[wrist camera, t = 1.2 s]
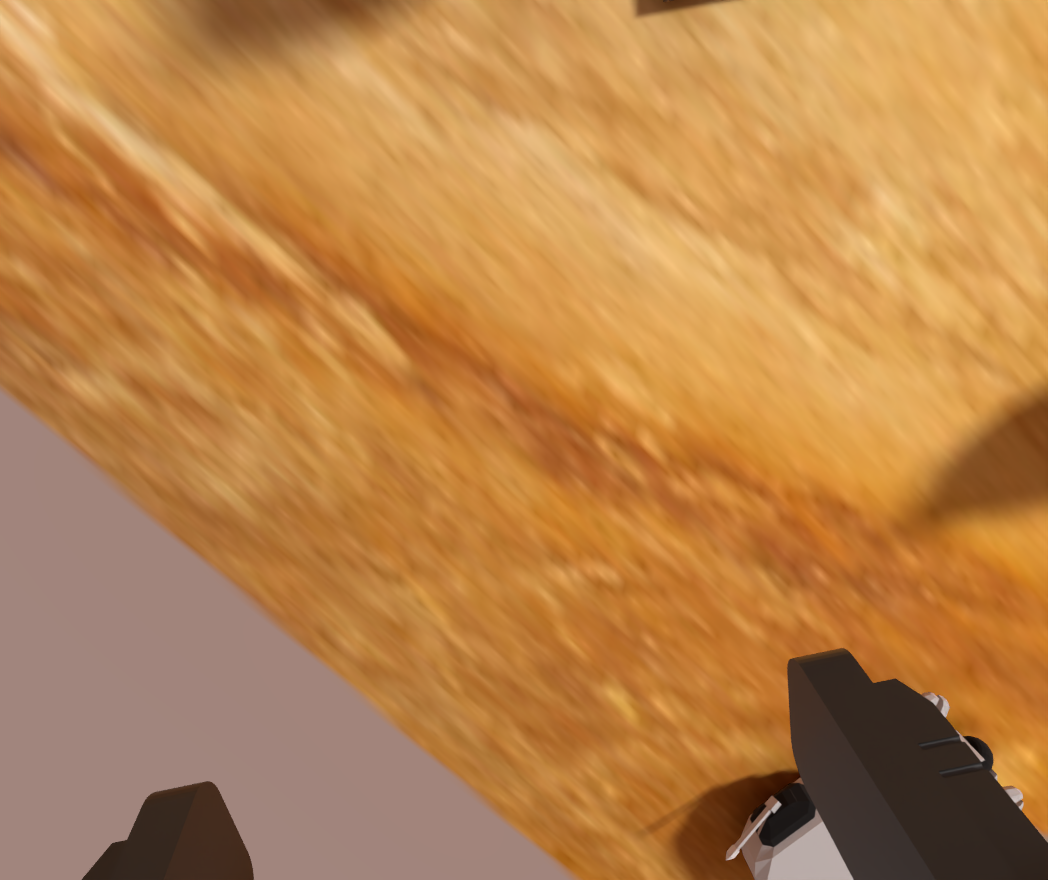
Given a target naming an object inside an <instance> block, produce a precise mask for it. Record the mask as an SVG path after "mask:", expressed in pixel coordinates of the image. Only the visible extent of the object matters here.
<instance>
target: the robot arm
mask: <svg viewBox="0 0 1048 880" xmlns="http://www.w3.org/2000/svg"><path fill="white" fill-rule="evenodd" d="M787 669H788V690H789V708H790V727H791V742H792V749H793V753H794V757H795V761H796V765H797V768H798V771H799V774H800V776H801V779H802V781H803V784H804V786H805V788H806V790H807V792H808V794H809V796H810V798H811V800H812V802H813V803H814V805H815V807H816V809H817V811H818V813H819V815H820V817H821V819H822V821H823V823H824V824H825V826H826V828H827V830H828V832H829V834H830V836H831V838H832V840H833V842H834V843H835V845H836V847H837V849H838V851H839V853H840V855H841V857H842V859H843V861H844V862H845V864H846V866H847V868H848V870H849V872H850V874H851V876H852V878H853V880H1048V843H1047V841H1046V840H1045V839H1044V838H1043V837H1042V835H1041V834H1040V833H1039V832H1038V830H1037V829H1036V828H1035V827H1034V826H1033V824H1032V823H1031V822H1030V821H1029V819H1028V818H1027V817H1026V816H1025V815H1024V813H1023V812H1022V811H1021V810H1020V808H1019V807H1018V806H1017V805H1016V804H1015V802H1014V801H1013V800H1012V799H1011V797H1010V796H1009V795H1008V794H1007V793H1006V791H1005V790H1004V789H1003V788H1002V786H1001V785H1000V784H999V783H998V782H997V780H996V779H995V778H994V777H993V775H992V774H991V773H990V772H989V771H988V769H984V768H983V766H982V762H981V761H980V760H979V758H978V757H977V756H976V755H975V753H974V752H973V751H972V750H971V749H970V747H969V746H968V745H967V744H966V742H962V741H961V739H960V736H959V734H958V733H957V731H956V730H955V729H954V728H953V727H952V725H951V724H950V723H949V722H948V720H947V719H946V718H945V717H944V716H943V714H942V713H941V712H940V711H939V709H938V708H937V707H936V706H935V705H934V703H933V702H931V701H929V700H928V699H926V698H925V697H923V696H922V695H920V694H919V693H917V692H916V691H914V690H912V689H911V688H909V687H908V686H906V685H905V684H903V683H902V682H900V681H898V680H897V679H892V680H887V681H882V682H877V683H873V682H872V681H871V680H870V678H869V677H868V676H867V674H866V673H865V672H864V670H863V669H862V668H861V666H860V665H859V664H858V662H857V661H856V659H855V658H854V657H853V656H852V654H851V653H850V652H849V651H848V650H846V649H844V648H841V649H836V650H831V651H826V652H821V653H816V654H812V655H807V656H802V657H797V658H792V659H790V660H789V662H788V667H787ZM82 880H254V877H253V868H252V863H251V859H250V856H249V854H248V851H247V850H246V848H245V845H244V843H243V841H242V839H241V837H240V835H239V832H238V830H237V828H236V826H235V824H234V822H233V820H232V818H231V815H230V813H229V811H228V809H227V807H226V805H225V803H224V800H223V799H222V796H221V794H220V792H219V790H218V788H217V787H216V786H215V784H213V783H212V782H208V781H207V782H202V783H197V784H192V785H187V786H183V787H178V788H173V789H168V790H163V791H159V792H154V793H152V794H151V795H150V796H148V797H147V799H146V800H145V802H144V804H143V805H142V808H141V810H140V812H139V814H138V817H137V819H136V821H135V823H134V826H133V828H132V830H131V832H130V835H129V837H128V839H127V840H125V841H120V842H115V843H112V844H111V845H110V846H109V848H108V849H107V850H106V851H105V852H104V854H103V855H102V856H101V857H100V858H99V860H98V861H97V862H96V863H95V864H94V866H93V867H92V868H91V869H90V870H89V872H88V873H87V874H86V875H85V876H84V878H83V879H82Z"/></svg>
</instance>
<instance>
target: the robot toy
mask: <svg viewBox="0 0 1048 880" xmlns="http://www.w3.org/2000/svg"><path fill="white" fill-rule="evenodd" d="M922 696H923V697H925V698H926V699H928V700H929V701H931V702H933V703H934V705H935V706H936V707H937V708H938V709H939V711H940V712H941V713H942V714H943V716H944V717H945V718H946V715H947V713H948V710H949V708H950V707H949V704H948V702H947V700H946V699H945V698H944V697H942V696H940V695H938V696H936V695H935V694H934V693H931V692H928V693H923V694H922ZM957 733H958V734H959V736H960V739H961V741H962V742H966V744H967V745H968V746H969V747H970V749H971V750H972V751H973V752H974V753H975V755H976V756H977V757H978V758H979V760H980V761H981V762H982V766H983V768H984V769H988V771H989V772H990V773H991V774H992V775H993V777H994V778H995V779H996V780H997V774H996V773H995V772H994V771H993V770H992V769H991V768H992V765H993V754H992V752H991V750H990V749H989V747H988V746H987V744H986V743H984V742H983V741H981V740H980V739H978V738H975V737H971V736H963V737H962V735H961V734H960V733H959V732H958V731H957ZM1002 788H1003V789H1004V790H1005V791H1006V793H1007V794H1008V795H1009V796H1010V797H1011V799H1012V800H1013V801H1014V802H1015V804H1016V805H1017V806H1018V807H1019V808H1020V810H1022V807H1023V801H1022V800H1021V799H1022V798H1023V794H1022V793H1021V791H1020V790H1018V789H1017V788H1015V787H1013V786H1006V787H1002ZM740 848H741V849H742V853H743V856H744V858H745V860H746V862H747V864H748V866H749V868H750V870H751V872H752V875H753V877H754V879H755V880H853V878H852V876H851V874H850V872H849V870H848V868H847V866H846V864H845V862H844V861H843V859H842V857H841V855H840V853H839V851H838V849H837V847H836V845H835V843H834V842H833V840H832V838H831V836H830V834H829V832H828V830H827V828H826V826H825V824H824V823H823V821H822V819H821V817H820V815H819V813H818V811H817V809H816V807H815V805H814V803H813V802H812V800H811V798H810V796H809V794H808V792H807V790H806V788H805V786H804V784H803V781H802V779H801V778H799V779H798V780H796V781H795V782H793V783H790V784H788V785H787V786H786V787H784V788H783V789H782V790H780V791H779V792H778V793H776V794H775V795H774V796H771V797H770V798H769V799H768V800H767V801H766V802H764V803H763V804H762V805H760V806H759V807H758V808H756V809H755V810H754V812H753V813H752V814H751V815H750V816H749V818H748V821H747V823H746V825H745V828H744V830H743V832H742V836H741V837H740V838H739V840H738V841H737V842H736V843H735V844H734V845H733V844H732V846H731V847H730V848H729V849H728V850H727V853H726V860H730V859H734V858H735V857H736V855H737V854H738V853H739V852H740V851H739V850H740ZM726 860H725V861H726Z"/></svg>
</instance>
